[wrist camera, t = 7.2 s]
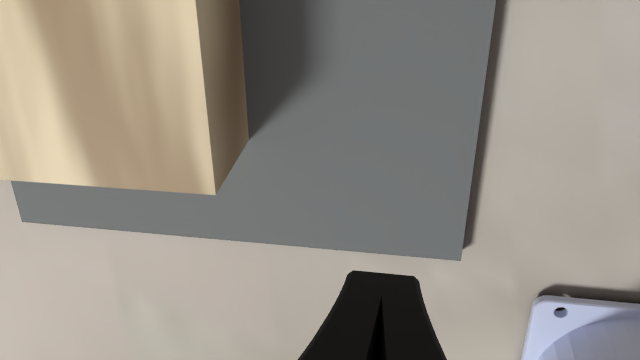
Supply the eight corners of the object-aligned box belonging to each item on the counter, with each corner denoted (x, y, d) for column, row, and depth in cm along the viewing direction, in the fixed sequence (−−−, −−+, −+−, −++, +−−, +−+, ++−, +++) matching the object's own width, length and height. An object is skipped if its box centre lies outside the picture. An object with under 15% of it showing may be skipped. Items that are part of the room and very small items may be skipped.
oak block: (194, -7, 16) (-148, -16, 17) (215, 195, 19) (-80, 174, 20) (236, -34, 19) (-52, -39, 21) (248, 140, 22) (-5, 125, 23)
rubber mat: (521, -206, 16) (523, -208, 16) (459, 251, 24) (460, 260, 23) (-81, -199, 19) (-95, -200, 18) (30, 214, 26) (22, 221, 26)
